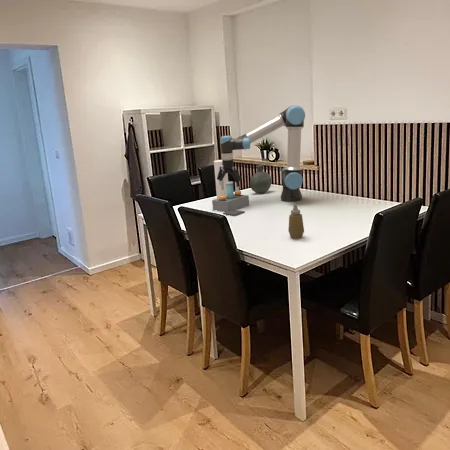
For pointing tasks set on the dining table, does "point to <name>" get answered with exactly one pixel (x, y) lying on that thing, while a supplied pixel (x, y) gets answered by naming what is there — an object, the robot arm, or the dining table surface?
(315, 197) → the dining table surface
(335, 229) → the dining table surface
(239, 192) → the plunger
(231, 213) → the mat
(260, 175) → the flask
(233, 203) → the block
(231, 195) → the block
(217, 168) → the cylinder container
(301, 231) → the squeeze bottle
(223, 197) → the plunger
